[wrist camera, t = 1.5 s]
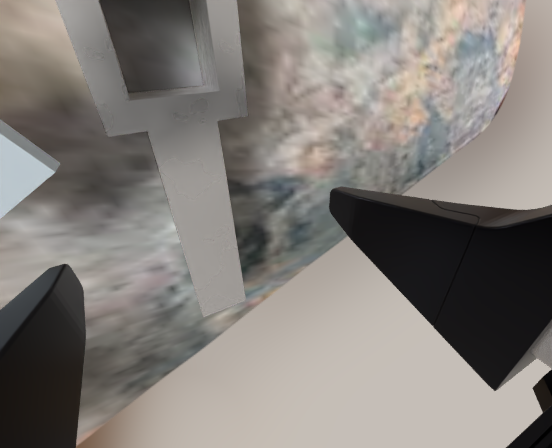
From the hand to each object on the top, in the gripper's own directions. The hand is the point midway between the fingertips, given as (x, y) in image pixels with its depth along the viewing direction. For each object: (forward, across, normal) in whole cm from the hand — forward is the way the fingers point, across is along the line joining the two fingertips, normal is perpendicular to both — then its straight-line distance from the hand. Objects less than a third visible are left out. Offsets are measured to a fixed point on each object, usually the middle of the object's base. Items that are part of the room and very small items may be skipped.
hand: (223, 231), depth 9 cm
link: (+8, 0, 0) cm, 8 cm away
